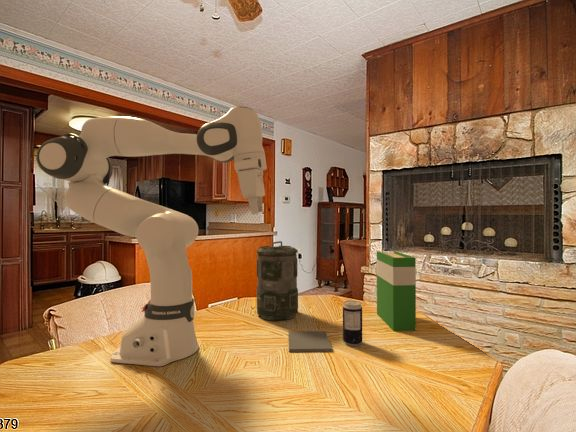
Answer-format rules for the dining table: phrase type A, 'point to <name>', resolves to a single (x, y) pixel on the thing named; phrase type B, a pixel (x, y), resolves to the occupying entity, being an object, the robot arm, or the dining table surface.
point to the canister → (277, 282)
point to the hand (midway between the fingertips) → (257, 213)
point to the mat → (308, 341)
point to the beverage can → (352, 323)
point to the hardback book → (396, 290)
